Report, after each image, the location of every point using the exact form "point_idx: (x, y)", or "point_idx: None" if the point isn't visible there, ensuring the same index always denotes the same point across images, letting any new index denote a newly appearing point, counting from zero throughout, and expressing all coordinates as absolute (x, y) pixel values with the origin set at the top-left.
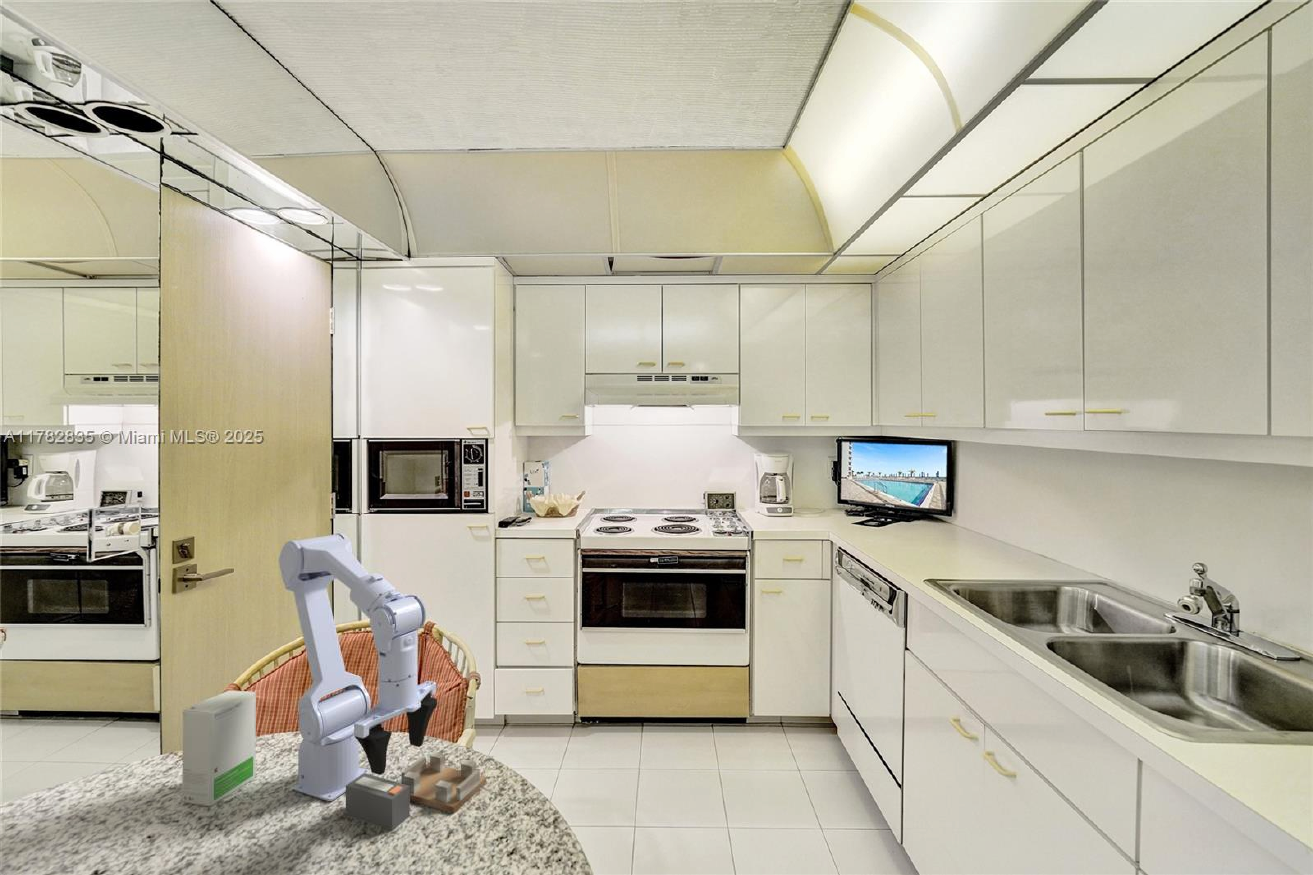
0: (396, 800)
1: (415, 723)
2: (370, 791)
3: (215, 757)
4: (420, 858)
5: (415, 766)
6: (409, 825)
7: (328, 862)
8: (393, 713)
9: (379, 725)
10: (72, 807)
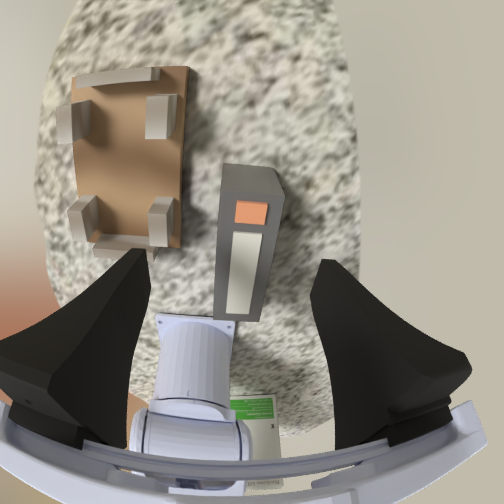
0: (269, 189)
1: (120, 341)
2: (266, 268)
3: (274, 439)
4: (331, 60)
5: (122, 249)
6: (250, 142)
7: (356, 224)
8: (414, 489)
9: (410, 438)
10: (288, 430)
